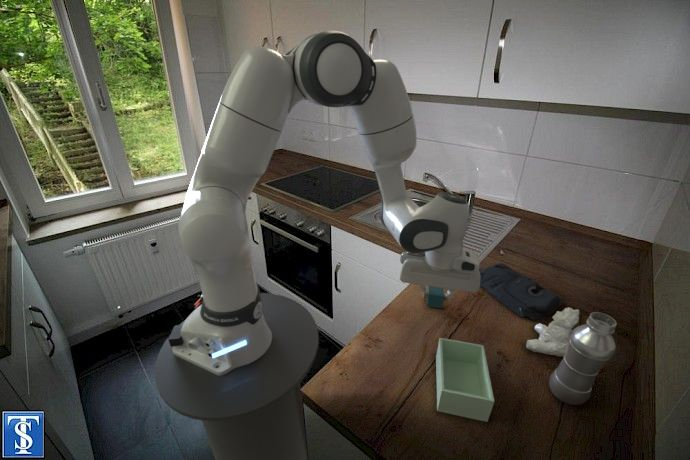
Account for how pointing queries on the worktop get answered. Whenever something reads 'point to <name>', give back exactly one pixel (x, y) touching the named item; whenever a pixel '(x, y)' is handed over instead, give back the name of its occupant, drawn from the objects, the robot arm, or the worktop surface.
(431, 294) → the block
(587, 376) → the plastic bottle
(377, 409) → the worktop surface
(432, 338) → the worktop surface
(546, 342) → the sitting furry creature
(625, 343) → the worktop surface
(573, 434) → the worktop surface
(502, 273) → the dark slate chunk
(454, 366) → the bin
